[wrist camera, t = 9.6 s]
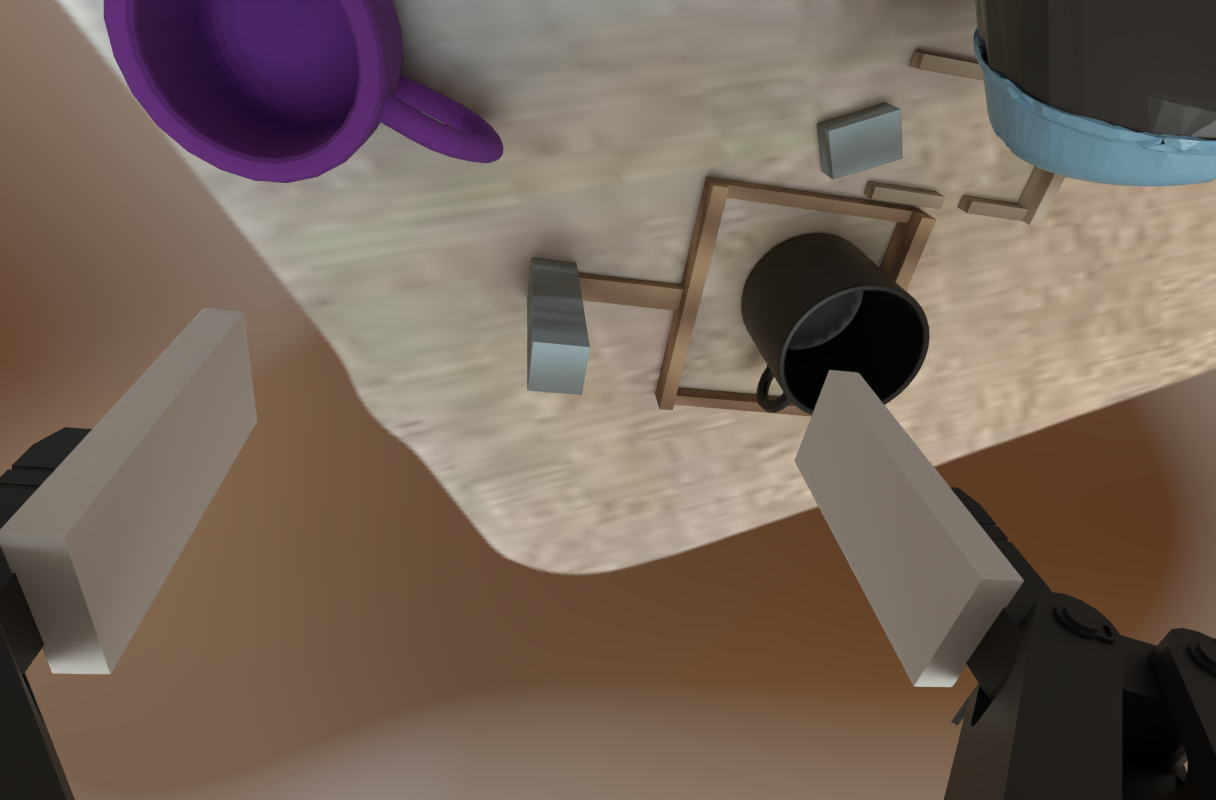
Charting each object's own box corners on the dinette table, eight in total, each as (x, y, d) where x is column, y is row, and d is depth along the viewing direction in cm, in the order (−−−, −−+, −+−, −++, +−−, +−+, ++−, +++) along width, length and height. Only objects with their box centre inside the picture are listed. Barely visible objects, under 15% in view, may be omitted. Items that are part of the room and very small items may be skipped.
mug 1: (175, 78, 38) (77, 112, 30) (221, -149, 34) (119, -183, 25) (469, 215, 44) (455, 275, 36) (545, 38, 39) (550, 61, 31)
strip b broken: (843, 38, 41) (857, 41, 39) (1086, 83, 44) (1109, 88, 42) (798, 184, 45) (809, 192, 44) (1022, 216, 48) (1040, 226, 46)
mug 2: (693, 345, 51) (722, 413, 43) (798, 206, 46) (851, 255, 38) (788, 396, 54) (831, 468, 47) (895, 272, 49) (962, 330, 42)
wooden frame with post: (543, 153, 43) (548, 214, 33) (917, 207, 47) (1024, 276, 37) (518, 382, 51) (515, 486, 41) (836, 410, 56) (904, 511, 45)
